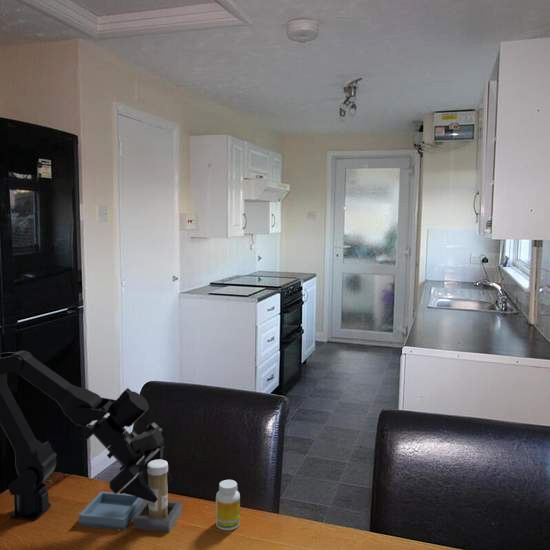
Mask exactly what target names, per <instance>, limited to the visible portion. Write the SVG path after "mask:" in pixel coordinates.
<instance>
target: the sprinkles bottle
mask: <svg viewBox="0 0 550 550" xmlns="http://www.w3.org/2000/svg"><path fill="white" fill-rule="evenodd" d="M146 471H147V472H146V473H147V480H148V481H147V485H148V486H149V487H150V489H151V490H152V491H153V493H154V494H155V495H156V497H157V499H158V500H157V501H156V502H155V503H153V502H150V501H148V508H149V513H148V517H157V518H167V517H168V515H169V513H168V500H169V499H168V491H169V490H168V482H167V472H168V471H169V463H168V461H167V460H160V459H158V460H153V461H150V462H149V463H148V465H147V468H146Z"/></svg>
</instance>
